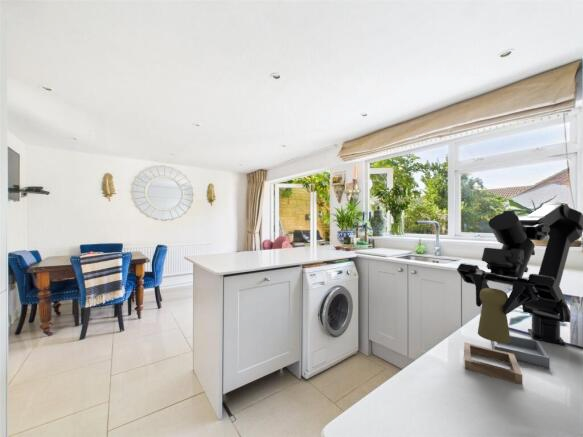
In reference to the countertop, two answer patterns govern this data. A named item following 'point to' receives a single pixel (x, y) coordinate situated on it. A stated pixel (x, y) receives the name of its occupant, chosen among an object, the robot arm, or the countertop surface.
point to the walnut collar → (489, 369)
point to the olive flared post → (493, 316)
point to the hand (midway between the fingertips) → (490, 309)
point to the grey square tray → (525, 351)
